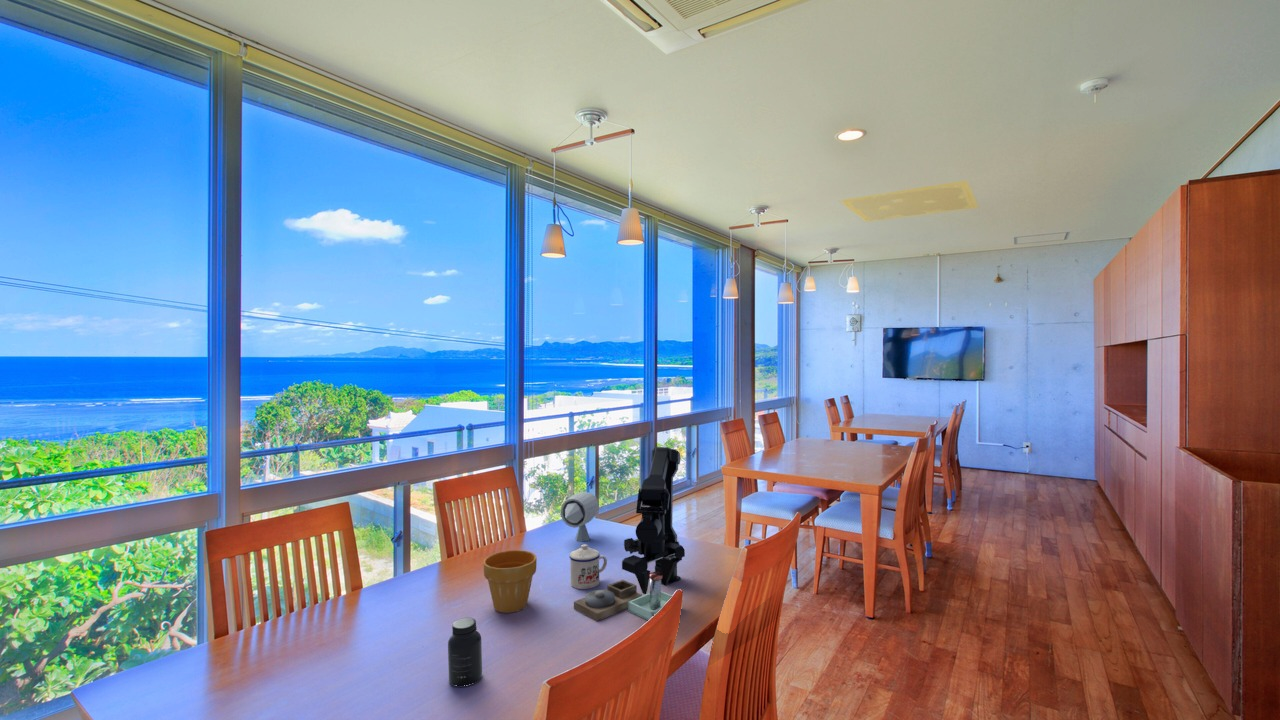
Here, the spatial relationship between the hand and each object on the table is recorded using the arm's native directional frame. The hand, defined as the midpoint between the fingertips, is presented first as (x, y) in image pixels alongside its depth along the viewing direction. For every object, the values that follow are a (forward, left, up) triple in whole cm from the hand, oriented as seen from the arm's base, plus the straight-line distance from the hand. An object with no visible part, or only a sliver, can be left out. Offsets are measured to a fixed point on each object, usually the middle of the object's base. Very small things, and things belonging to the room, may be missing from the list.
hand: (654, 589), depth 148 cm
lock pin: (0, 0, -5) cm, 5 cm away
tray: (0, 0, -6) cm, 6 cm away
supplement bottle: (+51, -6, -6) cm, 52 cm away
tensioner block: (+7, -11, -6) cm, 14 cm away
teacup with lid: (+1, -27, -6) cm, 28 cm away
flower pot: (+26, -30, -6) cm, 40 cm away
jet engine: (-20, -60, -6) cm, 64 cm away
